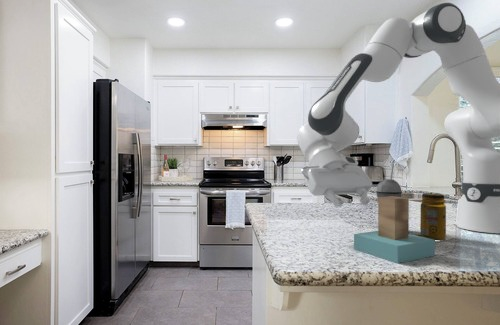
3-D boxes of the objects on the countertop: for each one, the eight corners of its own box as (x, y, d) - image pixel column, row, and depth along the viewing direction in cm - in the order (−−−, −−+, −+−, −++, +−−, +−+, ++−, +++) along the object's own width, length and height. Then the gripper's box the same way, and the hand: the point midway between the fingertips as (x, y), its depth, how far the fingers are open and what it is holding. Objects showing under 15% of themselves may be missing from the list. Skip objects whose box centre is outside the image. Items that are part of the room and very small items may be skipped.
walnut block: (391, 233, 75) (391, 196, 75) (408, 237, 71) (408, 198, 71) (378, 235, 73) (378, 197, 73) (394, 240, 69) (394, 199, 69)
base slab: (389, 243, 80) (389, 229, 80) (434, 255, 70) (434, 239, 70) (353, 248, 75) (353, 234, 75) (397, 263, 64) (397, 246, 64)
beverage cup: (373, 227, 100) (373, 164, 100) (397, 228, 99) (397, 164, 99) (379, 232, 93) (379, 164, 93) (405, 233, 92) (405, 164, 92)
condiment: (452, 238, 85) (452, 194, 85) (436, 243, 81) (436, 196, 81) (425, 233, 92) (425, 192, 92) (409, 237, 87) (409, 193, 87)
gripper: (304, 158, 85) (328, 198, 77) (360, 159, 94) (387, 195, 86) (294, 174, 89) (316, 214, 81) (349, 173, 98) (374, 209, 90)
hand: (353, 204), depth 83 cm, fingers open, 8 cm apart
